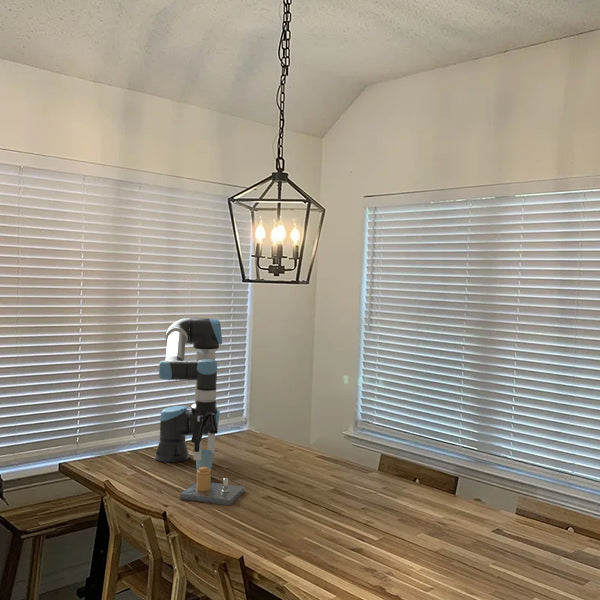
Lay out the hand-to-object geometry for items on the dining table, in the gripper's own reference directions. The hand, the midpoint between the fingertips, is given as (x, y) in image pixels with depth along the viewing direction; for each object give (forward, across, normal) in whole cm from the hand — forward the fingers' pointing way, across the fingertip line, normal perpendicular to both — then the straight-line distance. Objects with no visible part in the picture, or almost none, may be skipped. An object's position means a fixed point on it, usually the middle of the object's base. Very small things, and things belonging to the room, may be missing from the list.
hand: (204, 454), depth 241 cm
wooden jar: (+13, 0, 0) cm, 13 cm away
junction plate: (+15, +1, +4) cm, 16 cm away
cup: (+16, -19, -8) cm, 26 cm away
